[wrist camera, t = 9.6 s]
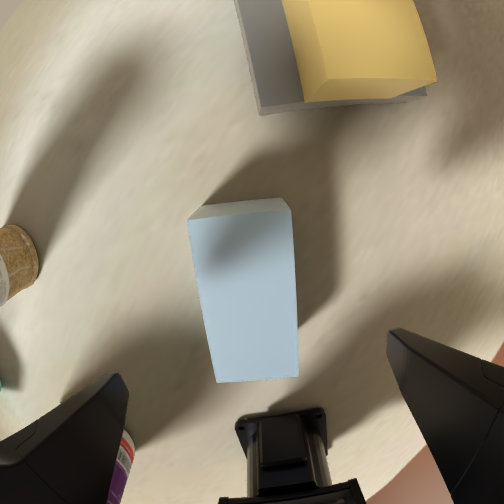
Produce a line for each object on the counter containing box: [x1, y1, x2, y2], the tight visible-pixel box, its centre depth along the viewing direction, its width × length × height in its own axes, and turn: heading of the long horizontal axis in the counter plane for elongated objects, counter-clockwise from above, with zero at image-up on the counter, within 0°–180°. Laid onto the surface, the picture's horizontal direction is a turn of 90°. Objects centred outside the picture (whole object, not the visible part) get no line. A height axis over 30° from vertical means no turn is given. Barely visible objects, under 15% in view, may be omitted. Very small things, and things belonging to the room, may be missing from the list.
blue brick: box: [187, 197, 299, 383], centre depth 15 cm, size 8×4×4 cm, turn 6°
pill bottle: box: [58, 405, 135, 504], centre depth 14 cm, size 8×8×14 cm
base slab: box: [234, 0, 427, 116], centre depth 12 cm, size 8×8×3 cm
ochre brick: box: [282, 0, 437, 103], centre depth 8 cm, size 8×4×4 cm, turn 10°
